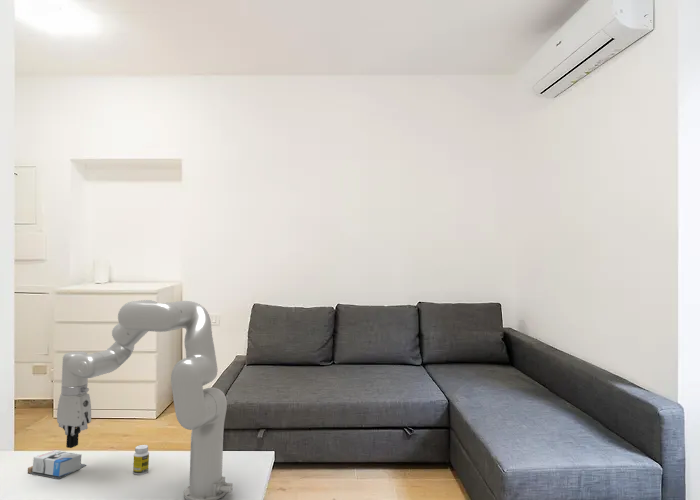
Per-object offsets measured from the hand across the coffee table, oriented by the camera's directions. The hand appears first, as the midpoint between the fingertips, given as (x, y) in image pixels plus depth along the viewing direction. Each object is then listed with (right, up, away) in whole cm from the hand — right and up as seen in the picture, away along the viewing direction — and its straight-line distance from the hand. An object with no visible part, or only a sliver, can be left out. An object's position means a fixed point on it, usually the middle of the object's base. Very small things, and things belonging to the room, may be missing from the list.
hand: (72, 446), depth 162 cm
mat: (-7, -9, +4) cm, 12 cm away
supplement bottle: (+21, -10, +3) cm, 24 cm away
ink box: (0, -6, 0) cm, 6 cm away
